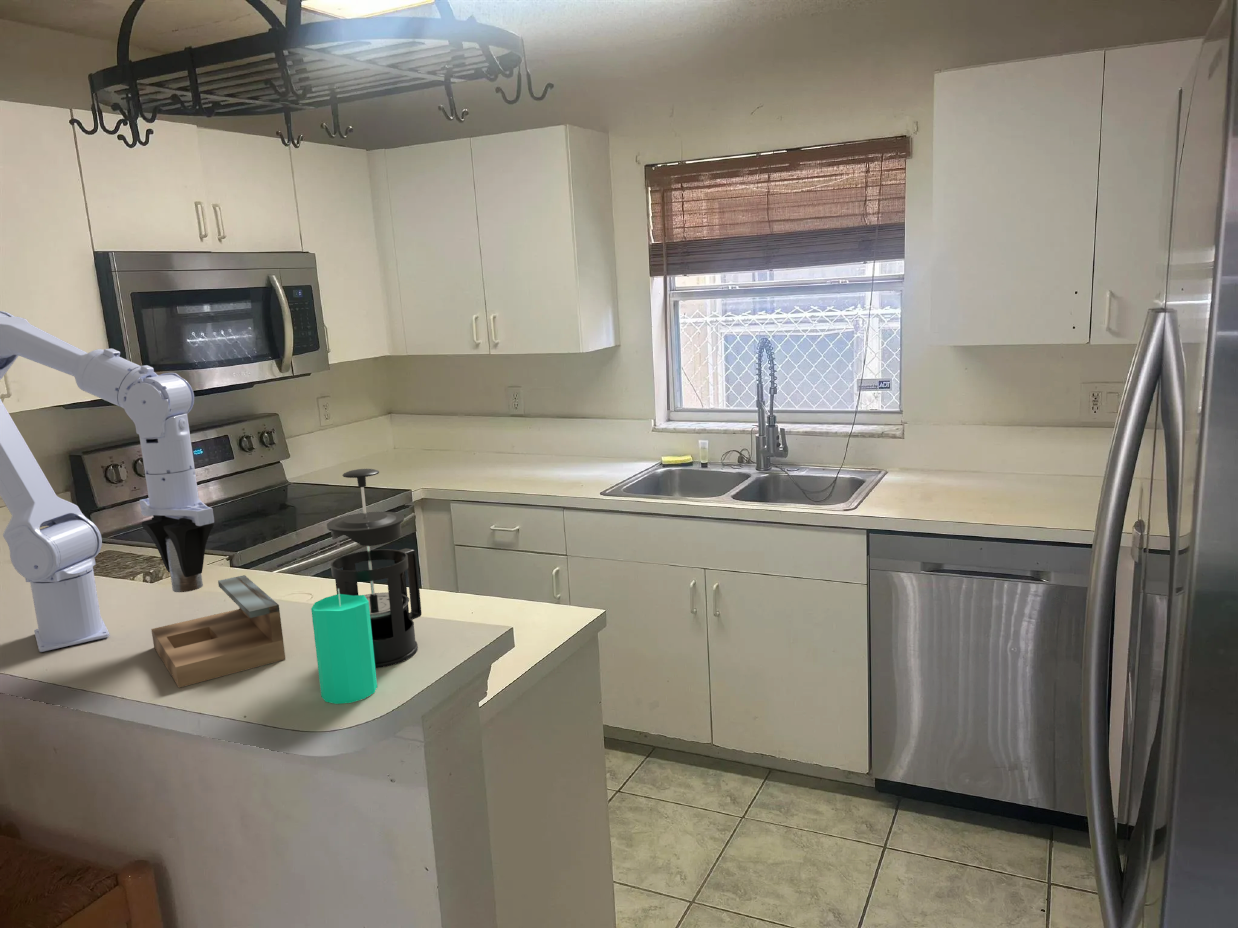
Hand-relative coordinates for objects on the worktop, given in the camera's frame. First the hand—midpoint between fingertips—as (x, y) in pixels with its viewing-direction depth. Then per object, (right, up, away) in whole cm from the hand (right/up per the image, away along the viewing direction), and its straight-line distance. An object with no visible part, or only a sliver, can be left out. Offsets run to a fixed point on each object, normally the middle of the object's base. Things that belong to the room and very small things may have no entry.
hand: (184, 572), depth 117 cm
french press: (+27, -9, -6) cm, 30 cm away
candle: (+27, -11, -17) cm, 34 cm away
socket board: (+6, -10, -4) cm, 12 cm away
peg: (0, -2, 0) cm, 2 cm away
